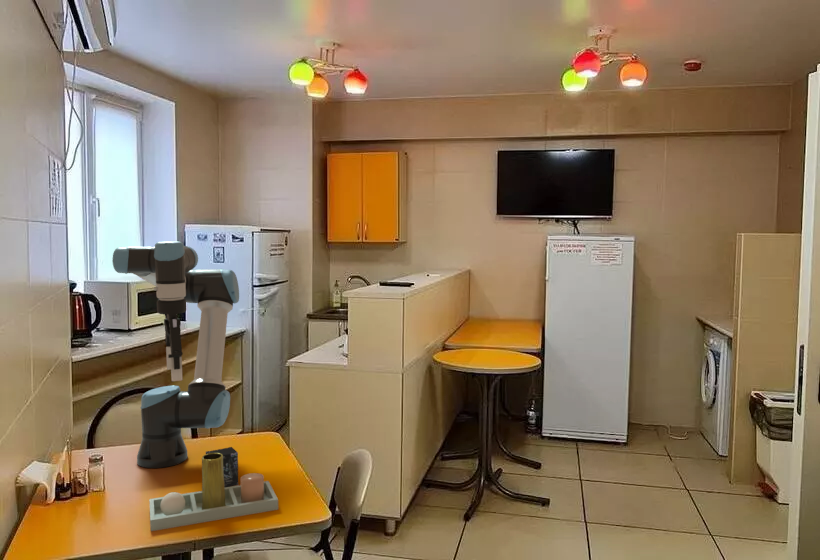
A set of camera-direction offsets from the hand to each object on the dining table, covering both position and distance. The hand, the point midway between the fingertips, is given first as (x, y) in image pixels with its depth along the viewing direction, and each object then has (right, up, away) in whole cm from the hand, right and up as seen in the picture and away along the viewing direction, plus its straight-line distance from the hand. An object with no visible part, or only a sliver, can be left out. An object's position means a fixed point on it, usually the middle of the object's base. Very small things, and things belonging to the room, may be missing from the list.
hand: (174, 374), depth 177 cm
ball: (+4, -34, -13) cm, 37 cm away
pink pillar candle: (+23, -34, -5) cm, 41 cm away
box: (+11, -34, +8) cm, 36 cm away
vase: (+14, -34, -9) cm, 38 cm away
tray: (+14, -35, -9) cm, 38 cm away
